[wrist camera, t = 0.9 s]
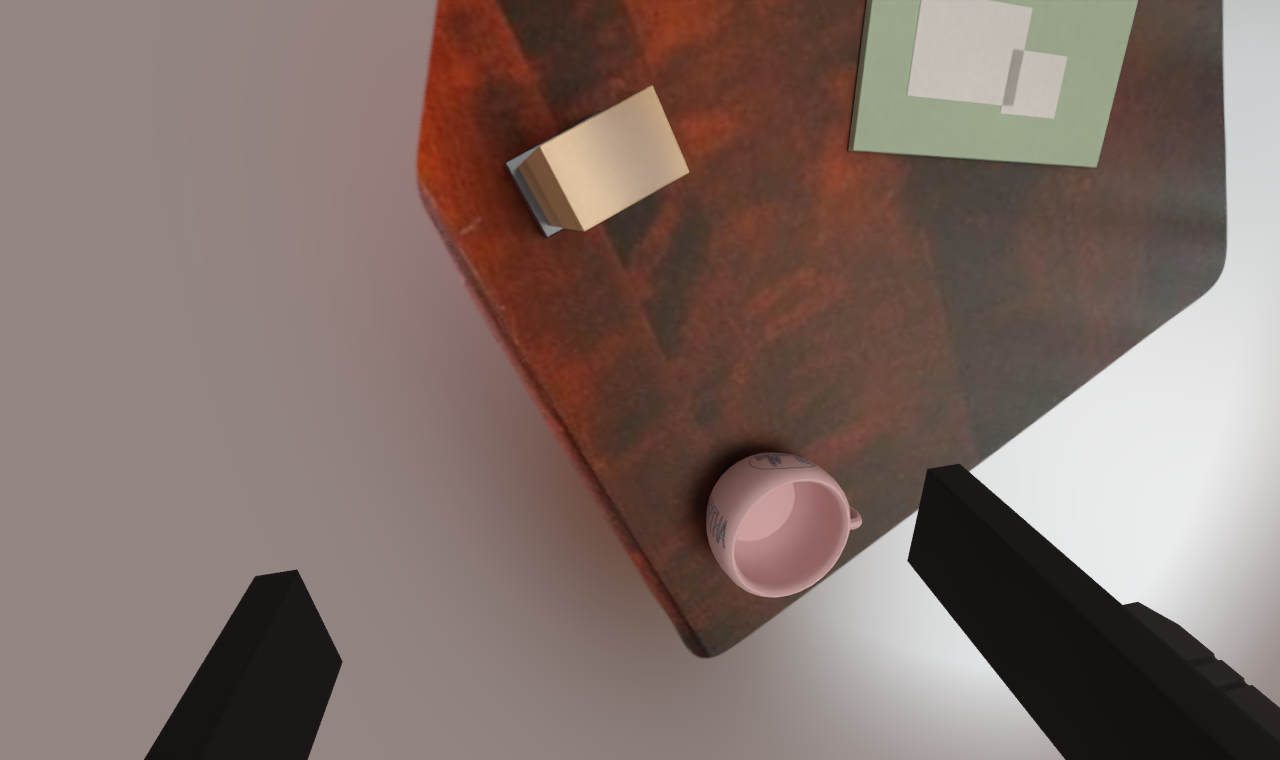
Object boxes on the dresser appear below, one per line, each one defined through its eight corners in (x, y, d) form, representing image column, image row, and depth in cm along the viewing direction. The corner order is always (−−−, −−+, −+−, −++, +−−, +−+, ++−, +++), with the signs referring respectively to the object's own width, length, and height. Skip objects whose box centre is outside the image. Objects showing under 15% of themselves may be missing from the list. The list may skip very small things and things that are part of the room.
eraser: (543, 237, 32) (579, 249, 22) (502, 164, 31) (519, 139, 20) (630, 189, 33) (705, 178, 22) (595, 114, 31) (658, 64, 21)
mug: (684, 560, 42) (716, 611, 37) (698, 439, 39) (734, 476, 34) (818, 545, 46) (865, 590, 40) (839, 434, 43) (893, 466, 37)
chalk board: (847, 151, 36) (854, 150, 36) (874, -64, 33) (882, -70, 32) (1088, 167, 42) (1098, 167, 42) (1132, -12, 39) (1143, -16, 38)
